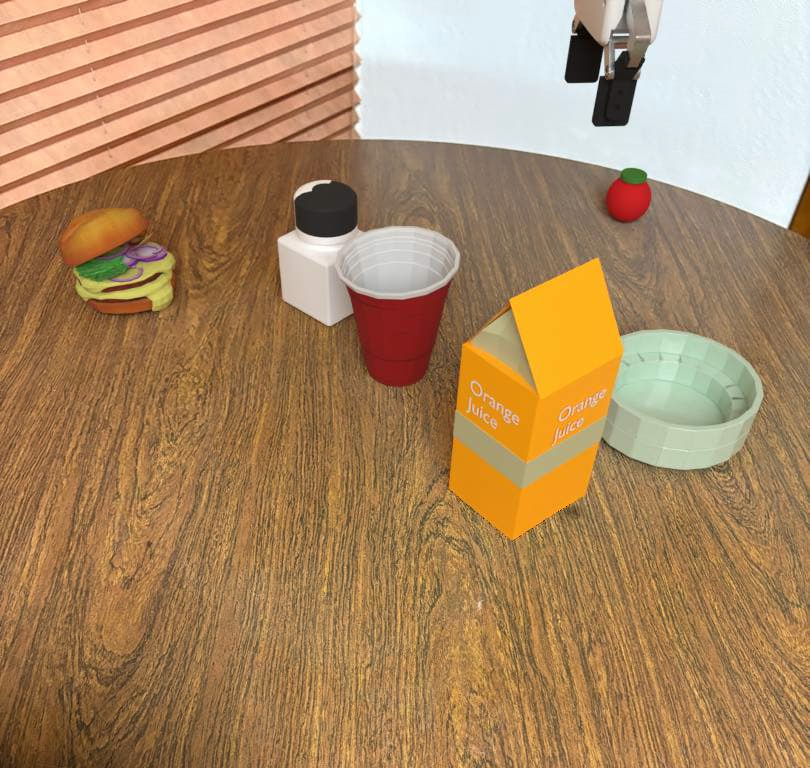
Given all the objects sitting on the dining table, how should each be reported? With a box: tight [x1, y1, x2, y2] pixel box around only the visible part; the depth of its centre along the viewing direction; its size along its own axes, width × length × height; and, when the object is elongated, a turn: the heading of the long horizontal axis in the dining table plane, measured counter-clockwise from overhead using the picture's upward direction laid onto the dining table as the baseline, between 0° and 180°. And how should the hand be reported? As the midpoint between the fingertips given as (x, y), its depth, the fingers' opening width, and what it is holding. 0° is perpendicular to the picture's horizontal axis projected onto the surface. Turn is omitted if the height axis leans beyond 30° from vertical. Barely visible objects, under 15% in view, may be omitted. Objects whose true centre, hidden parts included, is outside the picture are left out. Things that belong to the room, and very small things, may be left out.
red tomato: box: [605, 167, 652, 223], centre depth 101 cm, size 5×5×6 cm
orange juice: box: [448, 256, 624, 544], centre depth 64 cm, size 8×9×20 cm
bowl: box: [601, 328, 765, 471], centre depth 76 cm, size 14×14×5 cm
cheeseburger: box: [58, 207, 177, 315], centre depth 87 cm, size 10×11×10 cm
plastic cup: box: [334, 225, 461, 388], centre depth 78 cm, size 11×11×12 cm
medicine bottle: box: [277, 179, 366, 327], centre depth 85 cm, size 7×7×12 cm
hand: (594, 102), depth 79 cm, fingers open, 9 cm apart
